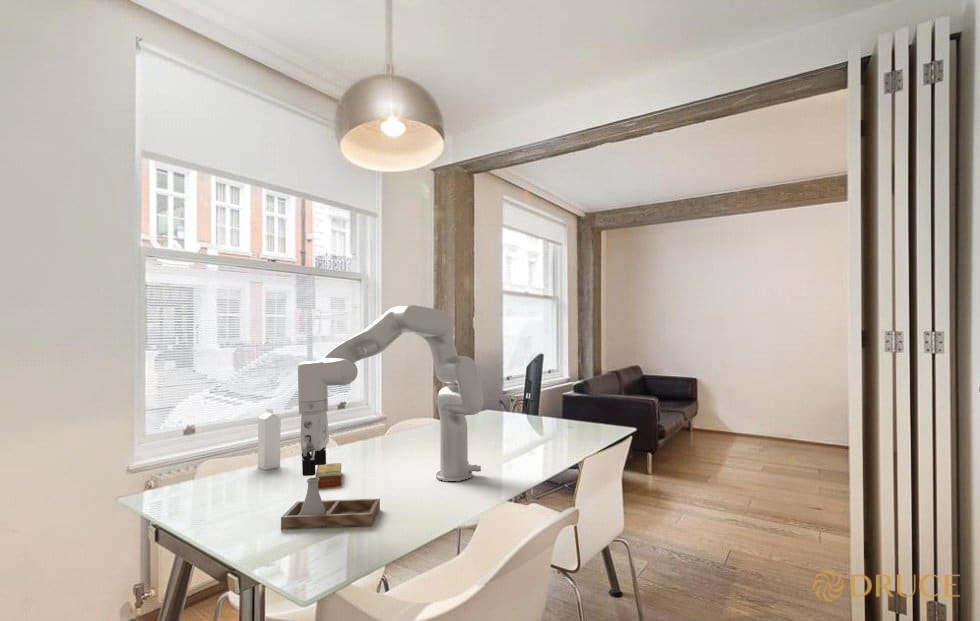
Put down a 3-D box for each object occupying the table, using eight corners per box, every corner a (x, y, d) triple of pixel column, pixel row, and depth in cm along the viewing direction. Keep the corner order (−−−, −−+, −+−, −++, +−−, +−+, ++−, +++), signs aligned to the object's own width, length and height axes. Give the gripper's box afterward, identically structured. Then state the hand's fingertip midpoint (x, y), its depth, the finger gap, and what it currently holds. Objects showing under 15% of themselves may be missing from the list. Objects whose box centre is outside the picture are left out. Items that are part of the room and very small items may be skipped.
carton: (341, 474, 174) (341, 462, 174) (341, 487, 158) (341, 474, 158) (317, 476, 171) (317, 464, 171) (314, 489, 156) (314, 476, 156)
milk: (264, 470, 179) (264, 410, 180) (257, 467, 183) (258, 409, 184) (280, 466, 183) (280, 408, 184) (273, 464, 187) (273, 407, 188)
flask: (303, 512, 133) (303, 475, 133) (329, 511, 133) (330, 474, 134) (294, 522, 125) (295, 483, 126) (323, 521, 126) (323, 482, 127)
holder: (379, 509, 136) (379, 498, 136) (371, 526, 124) (371, 514, 124) (297, 512, 135) (297, 501, 135) (280, 529, 123) (281, 517, 123)
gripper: (317, 411, 122) (319, 479, 122) (335, 401, 140) (337, 460, 139) (287, 413, 122) (289, 480, 121) (309, 402, 139) (310, 461, 139)
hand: (314, 469), depth 130 cm, fingers open, 9 cm apart
